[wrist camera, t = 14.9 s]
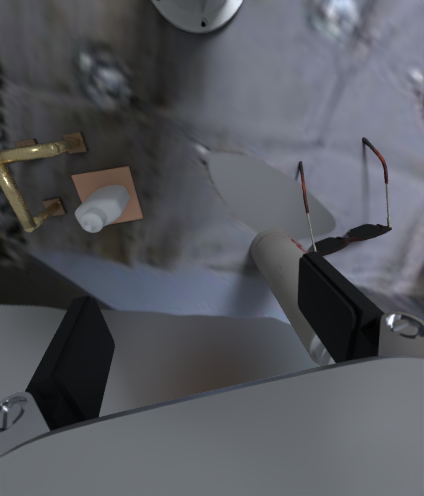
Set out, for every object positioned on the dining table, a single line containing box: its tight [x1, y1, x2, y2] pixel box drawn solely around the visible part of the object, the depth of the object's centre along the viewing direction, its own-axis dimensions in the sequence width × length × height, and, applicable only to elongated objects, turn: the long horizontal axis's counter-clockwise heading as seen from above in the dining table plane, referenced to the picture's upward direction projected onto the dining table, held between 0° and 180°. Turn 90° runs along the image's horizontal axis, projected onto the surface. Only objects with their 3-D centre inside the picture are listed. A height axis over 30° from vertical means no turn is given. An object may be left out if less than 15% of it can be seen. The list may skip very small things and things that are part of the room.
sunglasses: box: [299, 137, 392, 256], centre depth 43 cm, size 14×16×5 cm
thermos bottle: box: [251, 228, 335, 366], centre depth 35 cm, size 8×8×28 cm
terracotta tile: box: [72, 166, 143, 225], centre depth 38 cm, size 8×8×1 cm
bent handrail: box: [0, 132, 88, 233], centre depth 32 cm, size 10×8×9 cm
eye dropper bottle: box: [75, 185, 130, 233], centre depth 33 cm, size 4×6×12 cm
